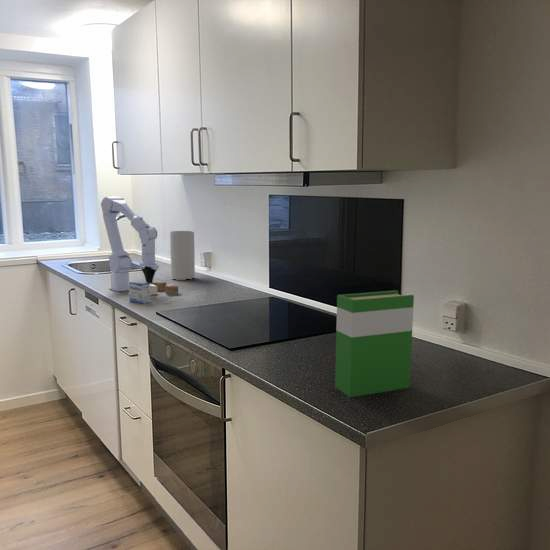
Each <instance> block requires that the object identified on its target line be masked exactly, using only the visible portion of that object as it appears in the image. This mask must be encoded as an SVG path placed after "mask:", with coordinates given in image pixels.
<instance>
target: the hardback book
mask: <svg viewBox="0 0 550 550" xmlns="http://www.w3.org/2000/svg"><path fill="white" fill-rule="evenodd" d="M414 297H415V295H413V294H406V295H405V294H404V295H402V294H399V290H396V289H395V290H386V291H385V290H384V291H382V290H381V291H372V292H371V291H370V292H360V293H347V294H346V293H345V294H337V296H336V327H335V329H336V330H335V333H336V334H335V373H334V388H335V389H336V388H337V389H336V390H337V391H339V390H340V392H341V393H342V392H343V394H344V395H345V396H347V397H349V398H354V397H360V396H361V397H362V396H366V395H368V396H369V395H372V394H379V393H380V394H381V393H385V392H392V391H398V390H397V389H399V390H403V388H405V389H409V388H408V387H410V388H411V369H412V367H411V366H412V345H413V343H412V342H413V326H414V325H413V321H414V304H415V303H414V301H415V300H414V299H415V298H414Z"/></svg>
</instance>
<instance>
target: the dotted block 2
mask: <svg viewBox="0 0 550 550" xmlns="http://www.w3.org/2000/svg"><path fill="white" fill-rule="evenodd" d="M164 293H166V294H165V295H167V296H174V295H173V294H178V295H179V285H177V284H175V283H174V284H173V283H172V284H167V285H165V290H164Z"/></svg>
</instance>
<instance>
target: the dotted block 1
mask: <svg viewBox="0 0 550 550" xmlns="http://www.w3.org/2000/svg"><path fill="white" fill-rule="evenodd" d="M151 284H153V285H156V286H157V292H162V290H164V291H165V285H168V284H167V281H164V280H163V281H162V280H157V281H156V280H155V281H152V283H151ZM151 284H150V285H151Z"/></svg>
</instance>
